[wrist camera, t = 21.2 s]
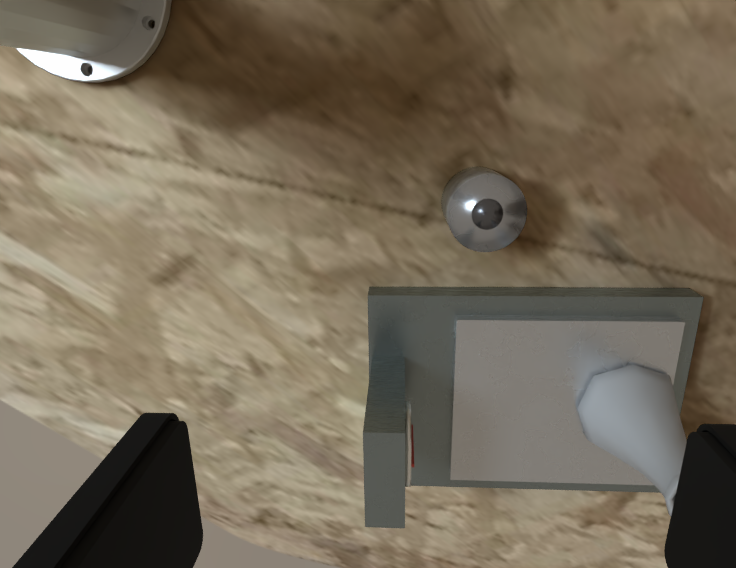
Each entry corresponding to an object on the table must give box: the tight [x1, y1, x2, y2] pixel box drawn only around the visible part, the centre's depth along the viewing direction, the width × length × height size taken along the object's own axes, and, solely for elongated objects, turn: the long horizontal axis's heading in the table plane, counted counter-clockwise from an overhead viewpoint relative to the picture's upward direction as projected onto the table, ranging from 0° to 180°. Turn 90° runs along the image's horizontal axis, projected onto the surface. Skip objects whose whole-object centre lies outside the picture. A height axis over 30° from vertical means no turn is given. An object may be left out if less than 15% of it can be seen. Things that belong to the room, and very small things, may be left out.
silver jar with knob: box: [441, 167, 527, 252], centre depth 36 cm, size 5×5×5 cm
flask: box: [577, 365, 687, 516], centre depth 35 cm, size 7×7×10 cm
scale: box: [363, 287, 704, 528], centre depth 37 cm, size 17×24×12 cm
